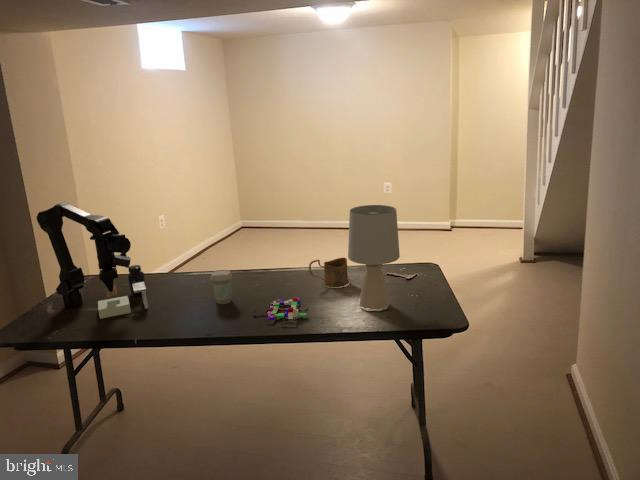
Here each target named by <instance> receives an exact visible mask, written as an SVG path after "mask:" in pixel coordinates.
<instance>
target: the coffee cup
mask: <svg viewBox="0 0 640 480" xmlns="http://www.w3.org/2000/svg"><path fill="white" fill-rule="evenodd" d="M232 278H233V274H232V272H231V270H227V269H219V270H218V269H217V270H214V271H213V272H211V275H210V282H211V284H212V288H213V292H214V298H215V303H216V304H218V305H226V304H227V305H228V304H230V303H231V302H232V287H233V286H232V280H233V279H232Z"/></svg>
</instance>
